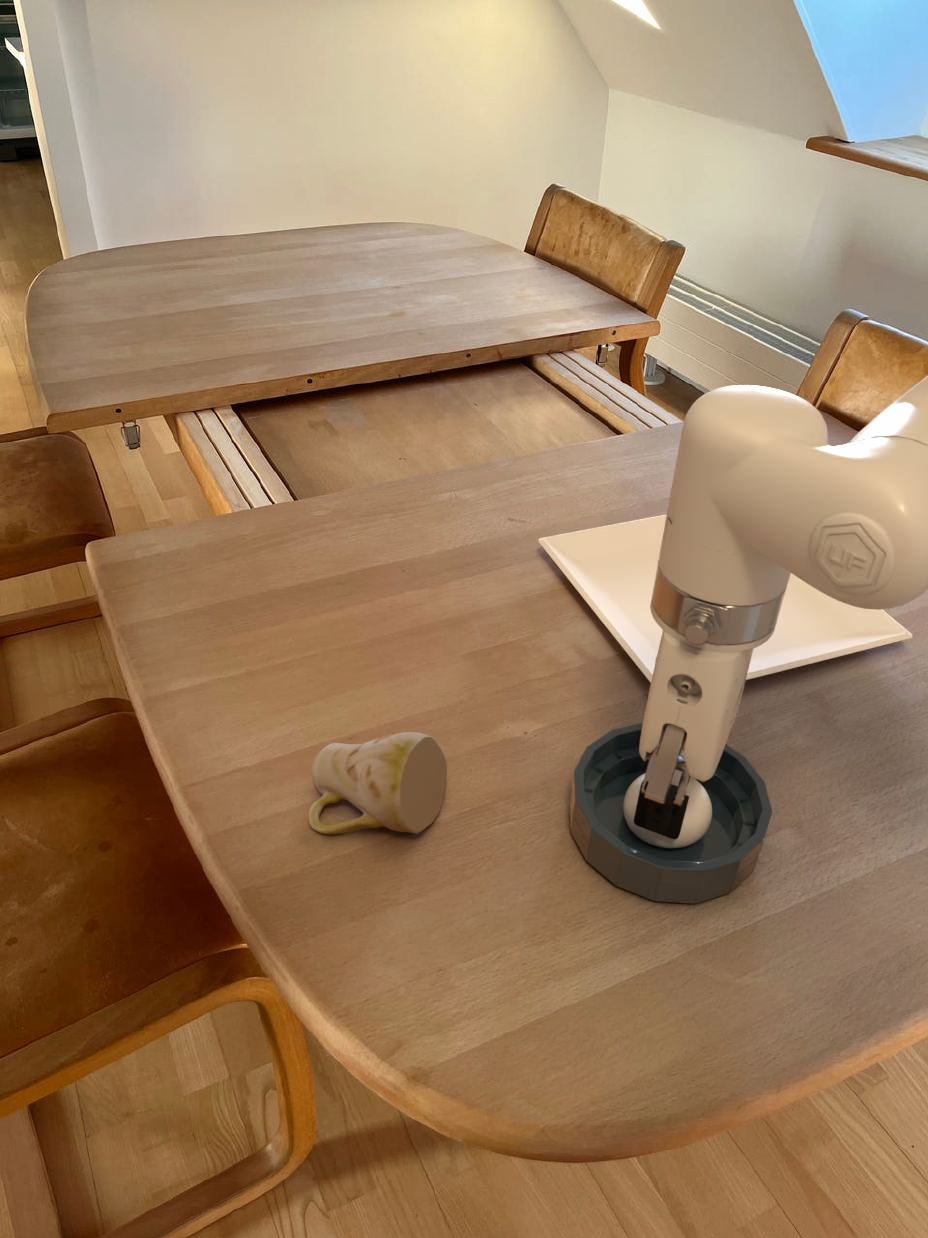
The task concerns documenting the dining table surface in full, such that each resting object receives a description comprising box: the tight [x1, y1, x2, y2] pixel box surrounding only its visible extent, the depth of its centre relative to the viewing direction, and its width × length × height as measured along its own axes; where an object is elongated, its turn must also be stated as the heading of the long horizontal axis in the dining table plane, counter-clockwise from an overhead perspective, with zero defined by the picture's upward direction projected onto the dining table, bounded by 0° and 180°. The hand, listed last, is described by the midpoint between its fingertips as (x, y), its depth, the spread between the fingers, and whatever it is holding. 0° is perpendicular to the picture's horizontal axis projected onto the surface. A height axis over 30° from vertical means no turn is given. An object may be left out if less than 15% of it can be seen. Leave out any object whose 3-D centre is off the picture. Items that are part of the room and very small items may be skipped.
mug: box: [308, 731, 448, 835], centre depth 68 cm, size 8×10×10 cm
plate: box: [537, 513, 913, 683], centre depth 92 cm, size 26×26×2 cm
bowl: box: [569, 722, 773, 904], centre depth 68 cm, size 14×14×4 cm
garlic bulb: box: [623, 750, 712, 848], centre depth 67 cm, size 6×6×8 cm
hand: (669, 796), depth 67 cm, fingers closed on garlic bulb, 5 cm apart
